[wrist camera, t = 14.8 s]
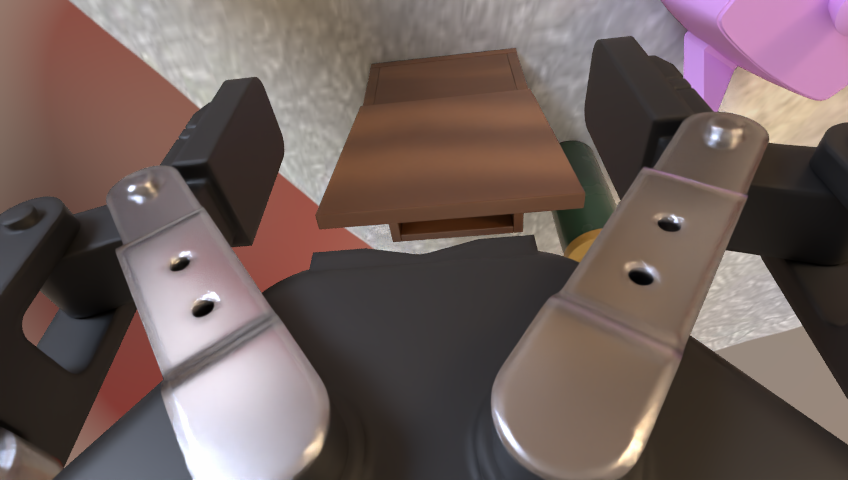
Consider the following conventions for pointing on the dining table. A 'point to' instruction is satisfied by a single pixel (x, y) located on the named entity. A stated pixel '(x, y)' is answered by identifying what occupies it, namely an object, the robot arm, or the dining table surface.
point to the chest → (441, 82)
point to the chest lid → (449, 162)
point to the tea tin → (599, 204)
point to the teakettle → (764, 44)
